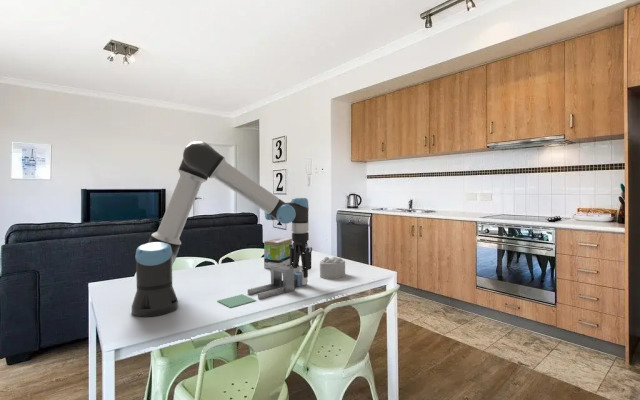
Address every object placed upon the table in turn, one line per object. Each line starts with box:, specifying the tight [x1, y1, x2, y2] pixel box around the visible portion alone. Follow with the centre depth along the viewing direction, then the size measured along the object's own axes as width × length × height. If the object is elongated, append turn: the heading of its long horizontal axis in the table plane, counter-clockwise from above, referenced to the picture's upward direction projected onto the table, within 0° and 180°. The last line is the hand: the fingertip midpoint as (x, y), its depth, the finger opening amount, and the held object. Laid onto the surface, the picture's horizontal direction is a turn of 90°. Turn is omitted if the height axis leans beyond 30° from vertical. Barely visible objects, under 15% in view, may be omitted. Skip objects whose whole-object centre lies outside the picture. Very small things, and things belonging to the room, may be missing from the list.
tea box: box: [263, 237, 293, 270], centre depth 189 cm, size 15×10×15 cm
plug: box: [280, 271, 303, 288], centre depth 152 cm, size 12×4×5 cm, turn 134°
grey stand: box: [247, 264, 295, 300], centre depth 143 cm, size 17×10×10 cm, turn 134°
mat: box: [217, 294, 257, 309], centre depth 132 cm, size 11×10×1 cm
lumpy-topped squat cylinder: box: [319, 256, 346, 280], centre depth 169 cm, size 10×13×9 cm
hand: (300, 283), depth 155 cm, fingers closed on plug, 4 cm apart
